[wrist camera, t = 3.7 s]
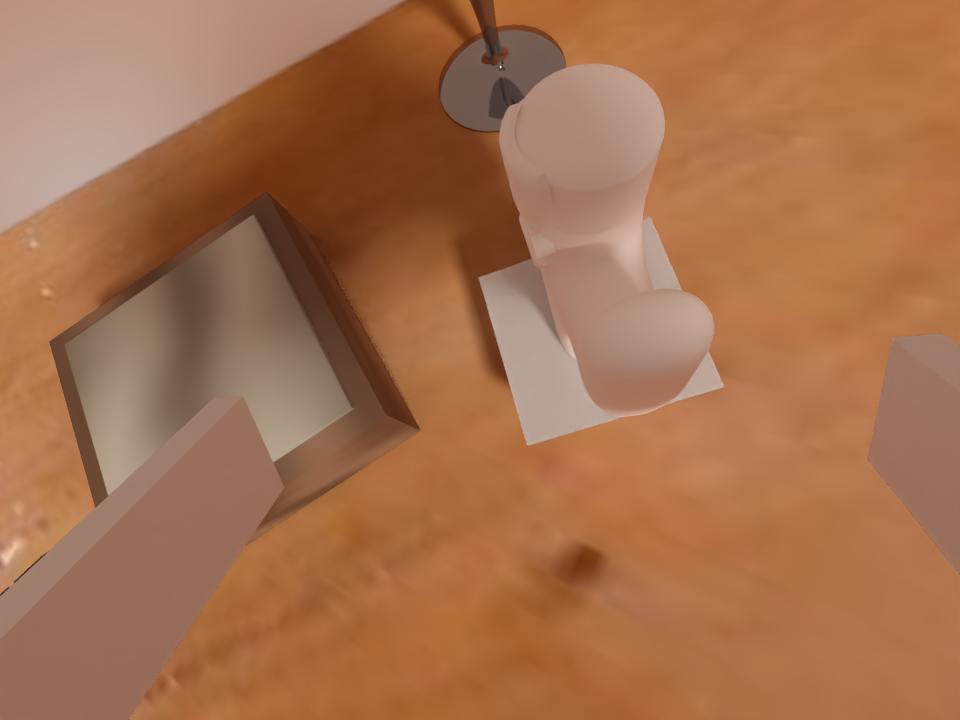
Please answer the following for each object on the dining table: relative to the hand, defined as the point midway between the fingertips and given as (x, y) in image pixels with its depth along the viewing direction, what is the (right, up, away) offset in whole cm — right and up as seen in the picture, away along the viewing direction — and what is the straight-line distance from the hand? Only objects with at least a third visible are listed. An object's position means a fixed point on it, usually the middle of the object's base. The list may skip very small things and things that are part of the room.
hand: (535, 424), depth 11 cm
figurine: (+4, +2, +13) cm, 13 cm away
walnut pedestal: (-13, 0, +16) cm, 20 cm away
